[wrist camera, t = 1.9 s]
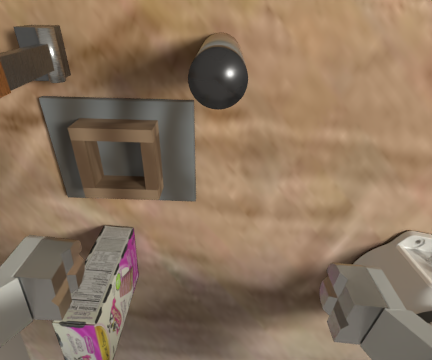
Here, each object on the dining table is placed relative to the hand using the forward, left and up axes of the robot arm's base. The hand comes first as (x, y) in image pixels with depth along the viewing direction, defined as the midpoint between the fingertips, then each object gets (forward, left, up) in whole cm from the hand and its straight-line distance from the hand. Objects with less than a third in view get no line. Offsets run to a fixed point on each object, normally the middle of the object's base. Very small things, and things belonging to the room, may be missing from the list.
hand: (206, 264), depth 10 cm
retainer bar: (+17, -3, -23) cm, 29 cm away
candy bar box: (+15, +27, -28) cm, 42 cm away
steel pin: (0, -3, -27) cm, 28 cm away
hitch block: (+12, +9, -27) cm, 31 cm away
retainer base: (+18, -3, -27) cm, 33 cm away
